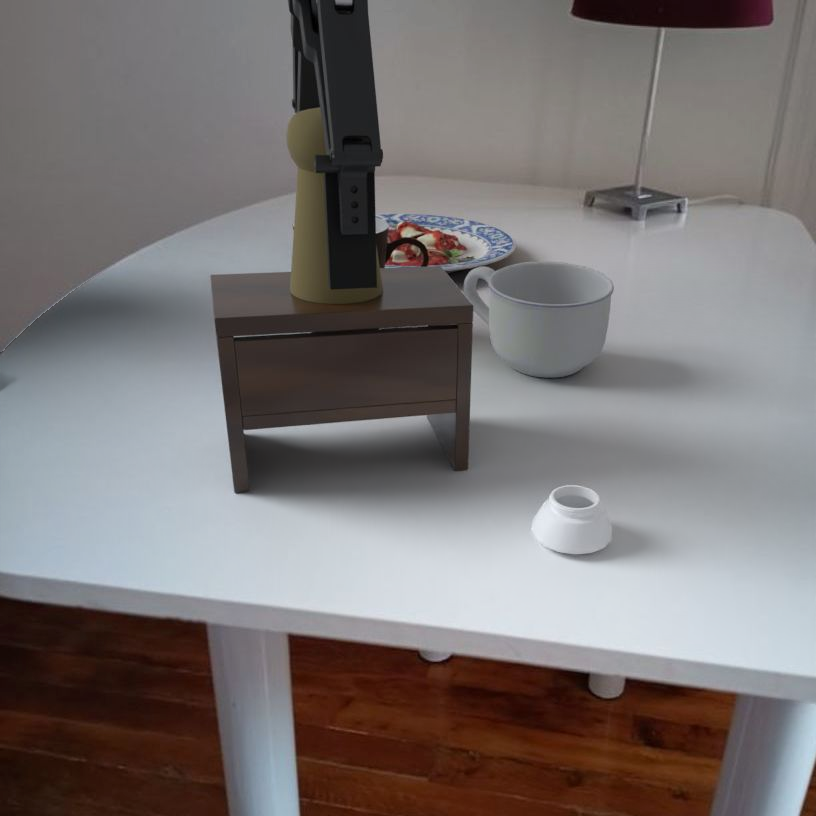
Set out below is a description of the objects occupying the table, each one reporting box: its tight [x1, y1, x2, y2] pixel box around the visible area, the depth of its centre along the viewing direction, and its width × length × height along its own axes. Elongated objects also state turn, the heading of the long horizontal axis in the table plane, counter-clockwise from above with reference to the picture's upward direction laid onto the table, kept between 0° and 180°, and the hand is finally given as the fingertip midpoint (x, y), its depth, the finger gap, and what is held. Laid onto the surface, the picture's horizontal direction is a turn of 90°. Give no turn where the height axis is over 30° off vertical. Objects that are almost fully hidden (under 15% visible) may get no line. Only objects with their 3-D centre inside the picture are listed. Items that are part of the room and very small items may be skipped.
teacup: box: [463, 260, 615, 379], centre depth 81 cm, size 14×11×8 cm
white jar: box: [530, 484, 613, 555], centre depth 57 cm, size 5×3×5 cm
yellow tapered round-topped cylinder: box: [285, 108, 383, 304], centre depth 57 cm, size 6×6×11 cm
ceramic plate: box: [375, 213, 517, 274], centre depth 110 cm, size 26×26×3 cm
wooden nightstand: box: [209, 266, 474, 494], centre depth 63 cm, size 9×16×12 cm, turn 107°
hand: (336, 255), depth 59 cm, fingers open, 13 cm apart
